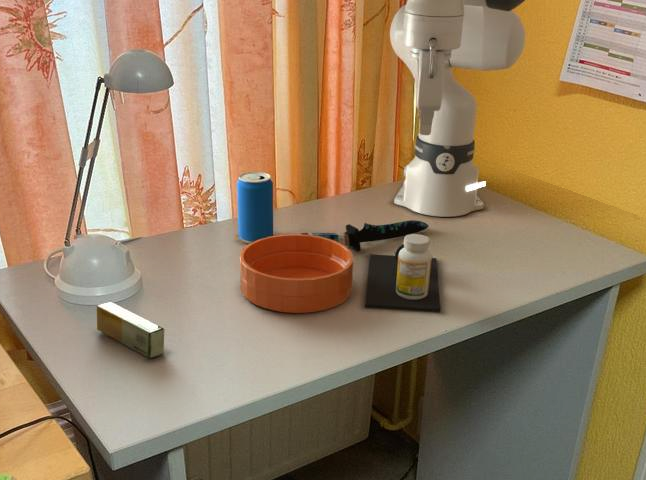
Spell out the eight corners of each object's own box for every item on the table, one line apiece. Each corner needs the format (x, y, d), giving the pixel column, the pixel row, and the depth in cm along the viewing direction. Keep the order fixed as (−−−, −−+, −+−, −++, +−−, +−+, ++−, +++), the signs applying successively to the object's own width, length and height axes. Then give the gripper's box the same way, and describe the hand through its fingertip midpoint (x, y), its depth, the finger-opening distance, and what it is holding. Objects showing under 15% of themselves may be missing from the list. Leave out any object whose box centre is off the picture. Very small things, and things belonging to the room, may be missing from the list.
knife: (300, 258, 138) (303, 234, 136) (292, 252, 140) (294, 228, 138) (434, 243, 155) (438, 222, 153) (424, 238, 157) (429, 216, 155)
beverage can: (279, 241, 148) (279, 179, 142) (248, 248, 145) (247, 184, 138) (262, 230, 152) (261, 168, 146) (232, 236, 149) (230, 174, 143)
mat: (369, 257, 143) (369, 254, 143) (436, 261, 143) (436, 258, 143) (364, 307, 126) (365, 304, 126) (440, 312, 126) (440, 309, 126)
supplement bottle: (415, 303, 127) (421, 248, 122) (388, 293, 130) (392, 238, 125) (434, 293, 131) (440, 238, 126) (407, 283, 133) (412, 229, 128)
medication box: (165, 353, 112) (166, 328, 110) (150, 359, 110) (150, 333, 108) (110, 324, 118) (110, 300, 116) (95, 329, 116) (94, 304, 114)
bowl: (251, 263, 139) (250, 231, 136) (354, 269, 139) (356, 237, 135) (231, 311, 124) (230, 276, 120) (348, 318, 123) (350, 283, 120)
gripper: (457, 46, 111) (446, 145, 118) (450, 24, 128) (441, 111, 135) (411, 44, 111) (404, 143, 118) (411, 22, 128) (404, 109, 136)
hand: (424, 125), depth 127 cm, fingers open, 8 cm apart
